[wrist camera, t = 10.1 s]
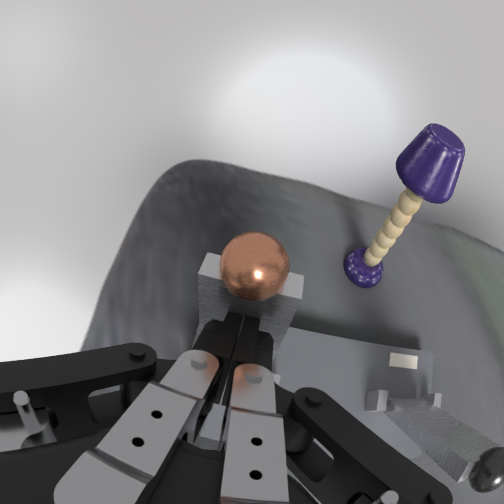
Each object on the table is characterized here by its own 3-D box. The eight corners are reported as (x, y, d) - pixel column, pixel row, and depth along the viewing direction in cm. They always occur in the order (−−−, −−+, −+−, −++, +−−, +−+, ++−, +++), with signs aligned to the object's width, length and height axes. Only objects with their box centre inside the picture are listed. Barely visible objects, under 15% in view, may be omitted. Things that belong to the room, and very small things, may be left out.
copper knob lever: (255, 400, 18) (314, 283, 9) (199, 385, 18) (190, 252, 9) (262, 368, 20) (317, 230, 11) (209, 355, 20) (214, 206, 11)
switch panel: (408, 455, 18) (434, 458, 14) (173, 424, 19) (162, 427, 15) (421, 356, 23) (446, 346, 19) (206, 313, 24) (202, 296, 21)
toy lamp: (334, 277, 27) (422, 138, 12) (343, 240, 29) (415, 105, 15) (377, 294, 26) (486, 176, 12) (383, 256, 28) (471, 136, 14)
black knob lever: (415, 417, 18) (511, 490, 5) (376, 416, 18) (467, 509, 5) (425, 390, 18) (534, 449, 5) (387, 387, 19) (495, 465, 5)
